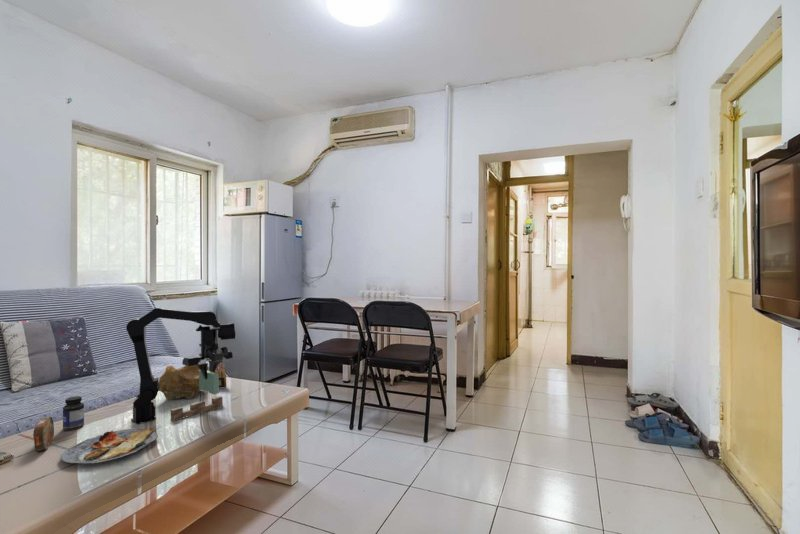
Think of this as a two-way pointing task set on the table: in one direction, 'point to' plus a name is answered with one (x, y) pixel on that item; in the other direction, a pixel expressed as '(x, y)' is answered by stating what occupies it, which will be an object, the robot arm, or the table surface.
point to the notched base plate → (196, 408)
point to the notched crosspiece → (209, 382)
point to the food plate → (110, 445)
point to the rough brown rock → (180, 382)
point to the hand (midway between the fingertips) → (208, 378)
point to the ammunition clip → (221, 375)
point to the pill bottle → (73, 413)
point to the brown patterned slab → (43, 434)
